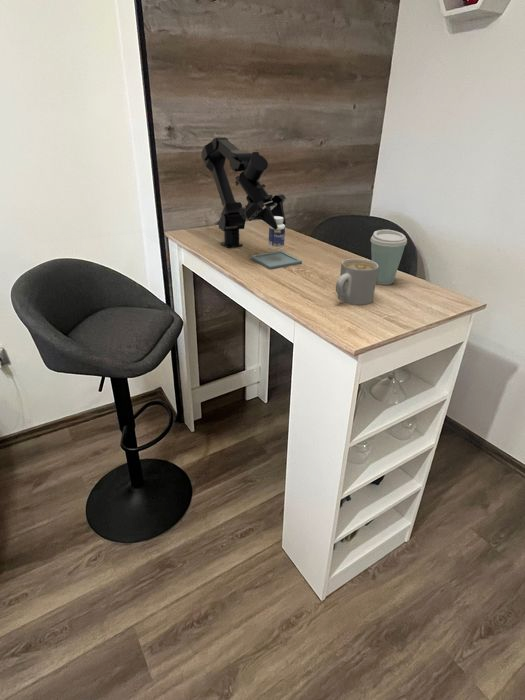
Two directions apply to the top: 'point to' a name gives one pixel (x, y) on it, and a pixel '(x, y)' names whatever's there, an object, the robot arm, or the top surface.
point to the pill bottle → (277, 234)
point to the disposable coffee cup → (387, 253)
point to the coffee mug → (357, 281)
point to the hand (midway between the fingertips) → (280, 227)
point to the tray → (276, 259)
